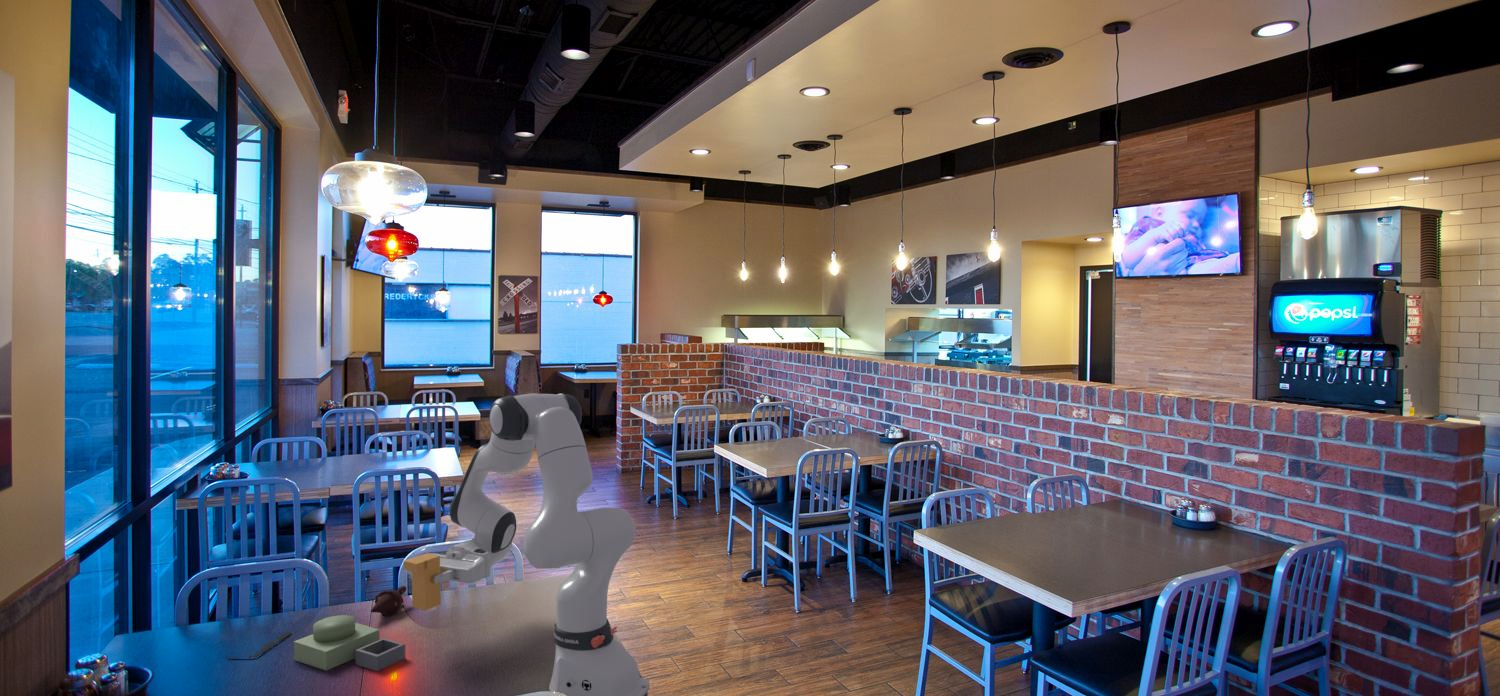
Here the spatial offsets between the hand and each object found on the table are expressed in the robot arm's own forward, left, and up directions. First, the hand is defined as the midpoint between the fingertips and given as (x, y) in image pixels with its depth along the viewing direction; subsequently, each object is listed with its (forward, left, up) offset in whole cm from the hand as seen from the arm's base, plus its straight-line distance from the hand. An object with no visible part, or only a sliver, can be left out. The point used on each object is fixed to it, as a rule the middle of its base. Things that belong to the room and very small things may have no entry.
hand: (423, 578), depth 184 cm
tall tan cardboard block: (0, 0, -7) cm, 7 cm away
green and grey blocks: (+14, +9, -19) cm, 25 cm away
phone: (+41, +15, -20) cm, 48 cm away
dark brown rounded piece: (+30, -13, -19) cm, 38 cm away
